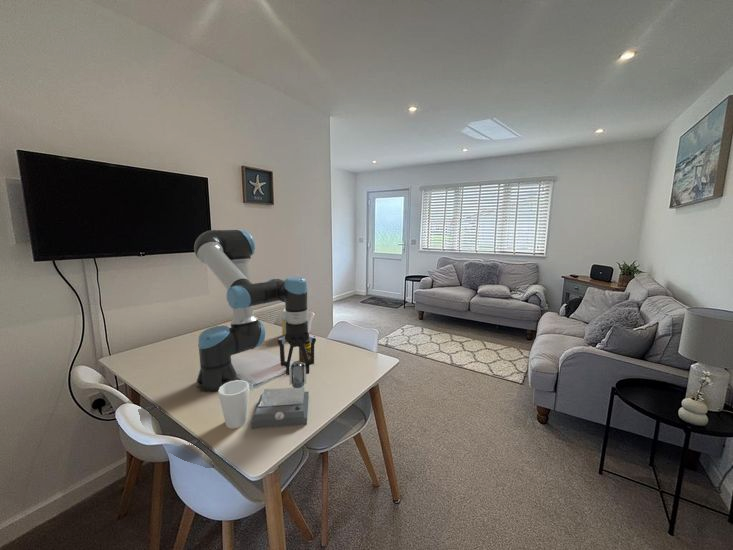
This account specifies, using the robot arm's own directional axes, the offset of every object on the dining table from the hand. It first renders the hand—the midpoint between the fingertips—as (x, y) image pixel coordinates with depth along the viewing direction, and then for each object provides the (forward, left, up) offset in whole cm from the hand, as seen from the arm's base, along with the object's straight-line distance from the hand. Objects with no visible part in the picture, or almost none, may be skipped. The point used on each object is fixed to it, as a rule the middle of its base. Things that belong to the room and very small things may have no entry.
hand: (298, 381), depth 108 cm
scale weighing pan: (-6, 0, -7) cm, 9 cm away
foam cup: (-21, -6, -10) cm, 24 cm away
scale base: (-6, -2, -10) cm, 12 cm away
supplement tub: (-9, +72, -10) cm, 73 cm away
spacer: (0, 0, -1) cm, 1 cm away
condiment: (0, +36, -10) cm, 37 cm away
